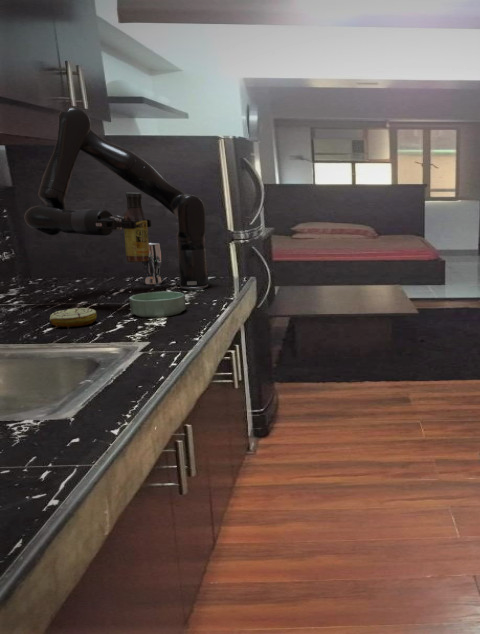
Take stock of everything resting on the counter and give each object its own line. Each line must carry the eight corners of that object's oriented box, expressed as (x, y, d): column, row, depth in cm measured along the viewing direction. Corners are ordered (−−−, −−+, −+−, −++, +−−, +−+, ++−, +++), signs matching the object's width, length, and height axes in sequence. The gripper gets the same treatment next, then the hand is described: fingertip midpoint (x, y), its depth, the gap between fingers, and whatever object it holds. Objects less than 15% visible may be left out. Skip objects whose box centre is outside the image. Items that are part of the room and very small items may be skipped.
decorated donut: (66, 319, 167) (64, 306, 166) (104, 319, 166) (103, 306, 166) (42, 328, 156) (40, 314, 156) (83, 328, 156) (82, 314, 156)
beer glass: (158, 285, 222) (155, 244, 219) (139, 285, 222) (136, 244, 219) (166, 282, 229) (163, 243, 226) (148, 282, 229) (145, 242, 226)
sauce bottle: (140, 263, 173) (134, 193, 168) (121, 262, 174) (115, 192, 169) (155, 260, 179) (149, 192, 174) (136, 259, 180) (130, 192, 176)
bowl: (152, 306, 185) (150, 290, 184) (195, 308, 182) (194, 292, 181) (119, 316, 171) (117, 299, 169) (166, 319, 168) (165, 301, 167)
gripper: (72, 210, 169) (125, 212, 166) (108, 208, 183) (157, 209, 180) (75, 237, 171) (127, 239, 168) (110, 233, 185) (159, 234, 181)
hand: (142, 224), depth 174 cm, fingers closed on sauce bottle, 6 cm apart
